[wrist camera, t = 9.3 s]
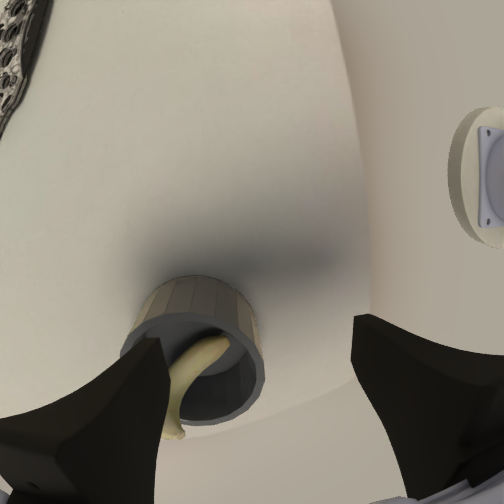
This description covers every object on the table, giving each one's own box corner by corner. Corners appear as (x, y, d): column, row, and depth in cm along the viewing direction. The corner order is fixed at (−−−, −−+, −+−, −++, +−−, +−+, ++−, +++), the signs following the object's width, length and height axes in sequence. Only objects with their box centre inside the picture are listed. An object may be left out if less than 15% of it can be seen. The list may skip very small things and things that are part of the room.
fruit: (178, 332, 22) (190, 348, 22) (127, 426, 15) (144, 440, 16) (225, 328, 20) (236, 346, 21) (177, 436, 14) (195, 451, 14)
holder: (251, 269, 21) (259, 305, 16) (260, 371, 24) (268, 420, 18) (129, 280, 21) (102, 317, 16) (154, 378, 23) (141, 426, 18)
